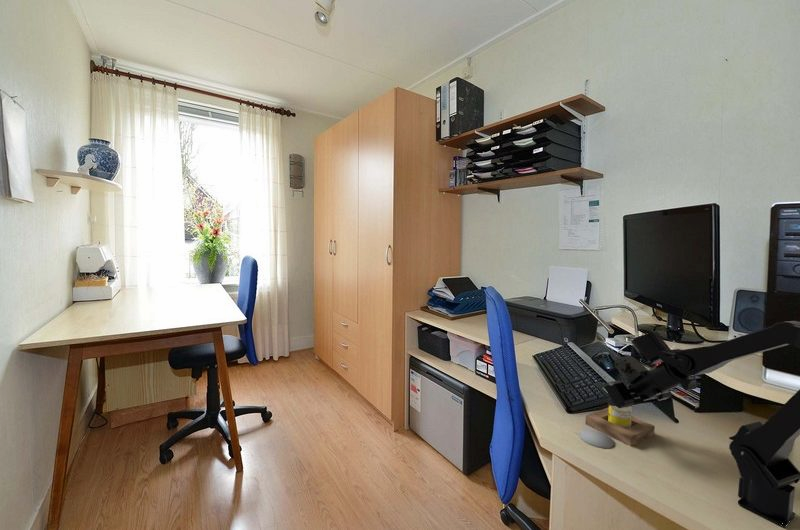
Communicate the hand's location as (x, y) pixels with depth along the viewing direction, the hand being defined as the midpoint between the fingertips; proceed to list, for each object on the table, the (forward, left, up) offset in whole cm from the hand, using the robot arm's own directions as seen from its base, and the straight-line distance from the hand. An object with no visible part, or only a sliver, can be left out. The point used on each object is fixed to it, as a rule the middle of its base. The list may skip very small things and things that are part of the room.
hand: (615, 402), depth 95 cm
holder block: (-1, 0, -7) cm, 7 cm away
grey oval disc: (-1, +11, -7) cm, 13 cm away
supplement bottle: (-1, 0, -7) cm, 7 cm away
